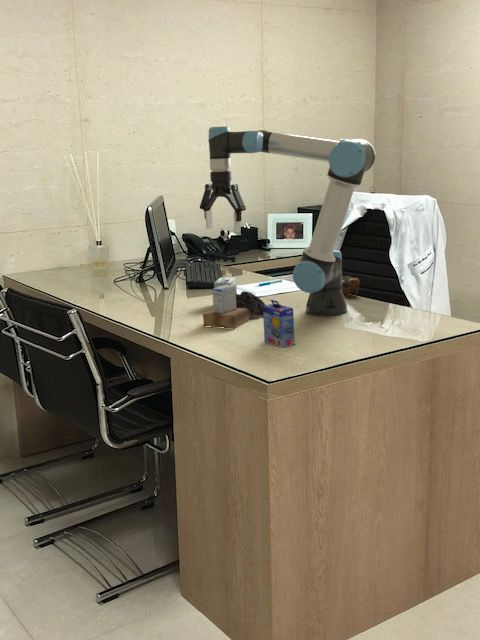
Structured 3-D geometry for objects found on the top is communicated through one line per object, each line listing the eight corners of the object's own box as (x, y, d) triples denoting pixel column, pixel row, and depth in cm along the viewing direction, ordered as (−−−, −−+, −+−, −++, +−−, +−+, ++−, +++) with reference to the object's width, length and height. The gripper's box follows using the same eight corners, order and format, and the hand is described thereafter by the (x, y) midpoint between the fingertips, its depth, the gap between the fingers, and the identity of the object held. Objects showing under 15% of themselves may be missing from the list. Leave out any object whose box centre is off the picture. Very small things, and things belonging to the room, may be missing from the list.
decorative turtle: (352, 299, 314) (350, 279, 312) (326, 296, 326) (324, 277, 324) (369, 294, 319) (367, 275, 318) (343, 291, 331) (341, 273, 330)
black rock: (274, 314, 298) (273, 288, 297) (259, 319, 286) (257, 292, 285) (243, 315, 304) (241, 289, 303) (226, 320, 292) (224, 293, 291)
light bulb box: (232, 309, 305) (231, 282, 302) (215, 309, 306) (213, 282, 304) (237, 303, 315) (236, 277, 313) (221, 303, 316) (220, 277, 314)
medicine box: (227, 307, 287) (226, 284, 285) (236, 309, 284) (236, 285, 282) (213, 312, 281) (211, 288, 279) (222, 313, 278) (221, 289, 276)
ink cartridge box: (263, 342, 258) (261, 298, 255) (276, 339, 261) (275, 295, 258) (281, 348, 250) (280, 303, 247) (295, 345, 253) (294, 300, 250)
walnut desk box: (248, 322, 286) (248, 308, 285) (234, 330, 276) (234, 315, 275) (218, 320, 291) (218, 306, 290) (203, 328, 281) (203, 313, 280)
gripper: (254, 170, 281) (256, 229, 286) (202, 169, 297) (205, 226, 302) (240, 171, 276) (242, 232, 281) (188, 171, 291) (191, 228, 297)
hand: (223, 229), depth 291 cm, fingers open, 13 cm apart
